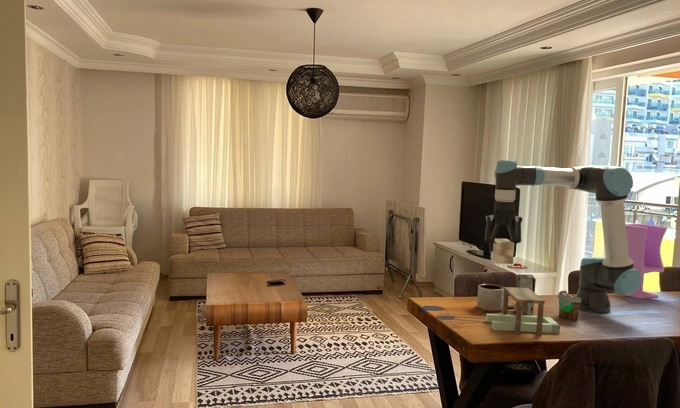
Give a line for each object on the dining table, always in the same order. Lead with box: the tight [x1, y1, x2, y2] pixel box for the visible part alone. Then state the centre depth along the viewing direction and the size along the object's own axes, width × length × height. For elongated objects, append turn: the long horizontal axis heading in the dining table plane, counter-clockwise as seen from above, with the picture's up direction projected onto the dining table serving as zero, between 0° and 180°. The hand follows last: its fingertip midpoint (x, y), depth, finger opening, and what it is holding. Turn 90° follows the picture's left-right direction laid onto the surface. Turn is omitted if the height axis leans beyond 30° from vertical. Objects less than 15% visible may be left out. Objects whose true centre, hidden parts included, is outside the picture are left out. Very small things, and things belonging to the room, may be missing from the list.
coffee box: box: [514, 273, 537, 316], centre depth 228 cm, size 9×6×16 cm
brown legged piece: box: [502, 286, 545, 336], centre depth 210 cm, size 10×19×13 cm, turn 178°
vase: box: [625, 223, 668, 300], centre depth 269 cm, size 16×16×35 cm
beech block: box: [490, 238, 515, 265], centre depth 208 cm, size 6×10×8 cm, turn 178°
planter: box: [476, 283, 504, 312], centre depth 235 cm, size 11×11×10 cm
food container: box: [556, 290, 581, 322], centre depth 225 cm, size 12×6×10 cm, turn 5°
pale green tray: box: [485, 313, 561, 334], centre depth 210 cm, size 25×12×3 cm, turn 88°
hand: (501, 260), depth 209 cm, fingers closed on beech block, 6 cm apart
